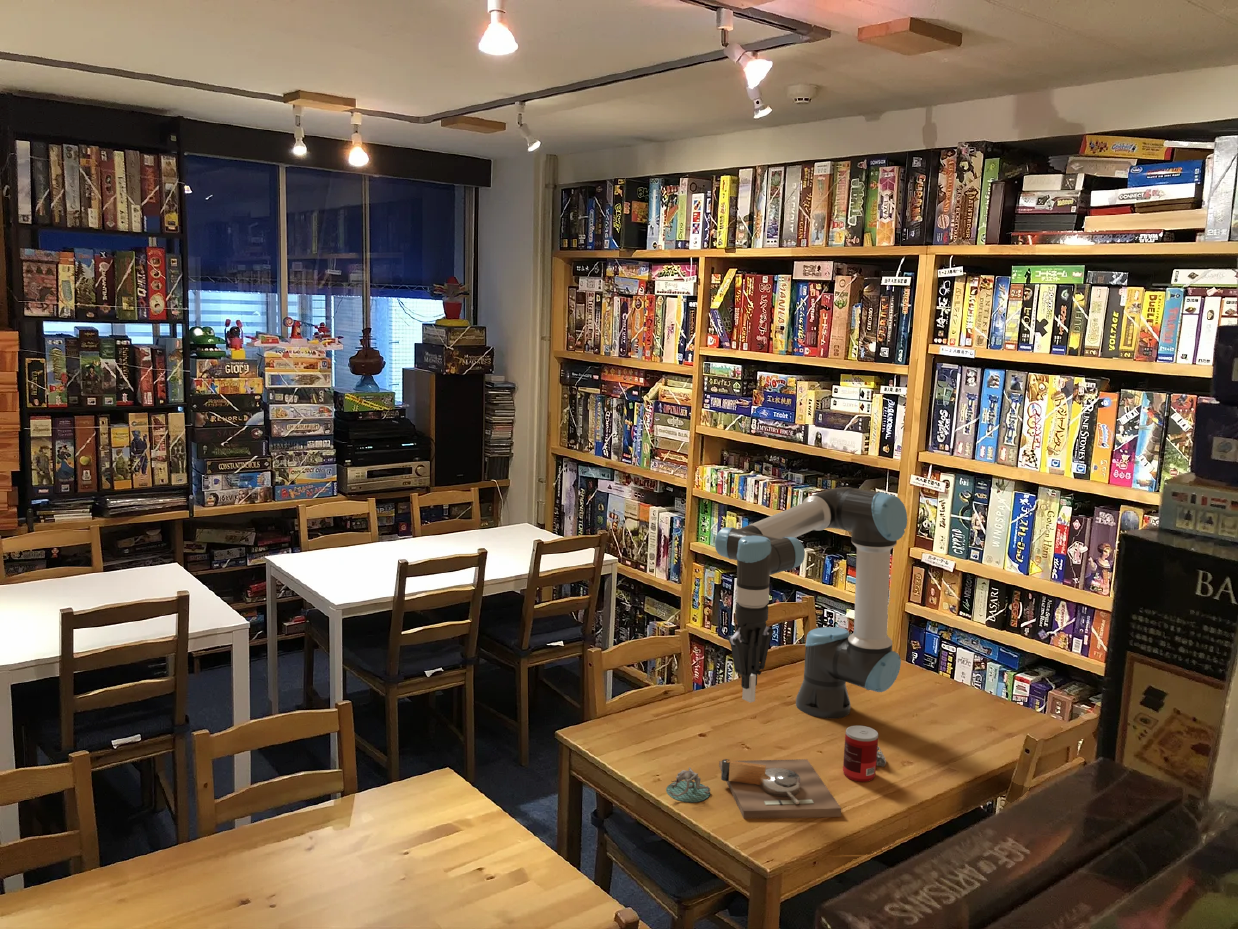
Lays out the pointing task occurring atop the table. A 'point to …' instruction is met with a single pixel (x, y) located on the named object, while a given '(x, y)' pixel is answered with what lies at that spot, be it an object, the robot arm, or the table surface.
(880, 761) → the house of cards
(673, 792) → the figurine
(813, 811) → the level stand
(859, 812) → the table surface
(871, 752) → the canned food
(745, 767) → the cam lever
